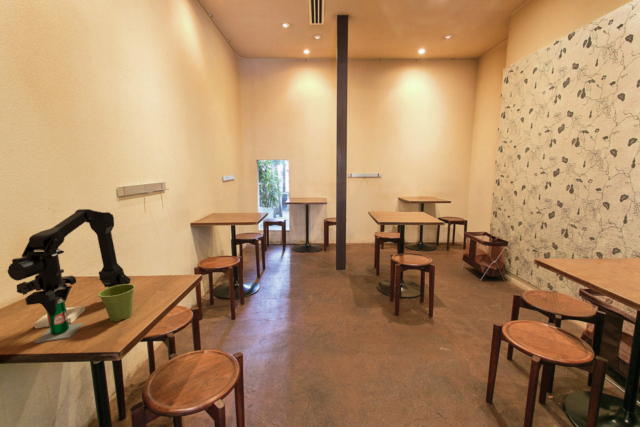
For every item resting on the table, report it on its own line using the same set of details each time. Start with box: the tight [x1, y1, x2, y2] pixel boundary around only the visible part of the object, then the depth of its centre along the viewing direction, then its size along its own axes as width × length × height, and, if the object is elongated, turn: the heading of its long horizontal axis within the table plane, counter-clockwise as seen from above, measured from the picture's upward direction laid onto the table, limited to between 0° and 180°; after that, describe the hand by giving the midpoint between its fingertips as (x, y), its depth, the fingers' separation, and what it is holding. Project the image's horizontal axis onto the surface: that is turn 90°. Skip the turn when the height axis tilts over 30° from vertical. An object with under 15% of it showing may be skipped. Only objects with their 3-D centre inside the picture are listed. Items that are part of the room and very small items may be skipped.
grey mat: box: [33, 322, 84, 344], centre depth 106 cm, size 10×10×1 cm
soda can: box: [46, 297, 70, 335], centre depth 105 cm, size 5×5×12 cm
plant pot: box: [97, 283, 136, 322], centre depth 115 cm, size 12×12×11 cm
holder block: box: [34, 305, 86, 329], centre depth 117 cm, size 11×11×2 cm
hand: (56, 312), depth 105 cm, fingers closed on soda can, 5 cm apart
